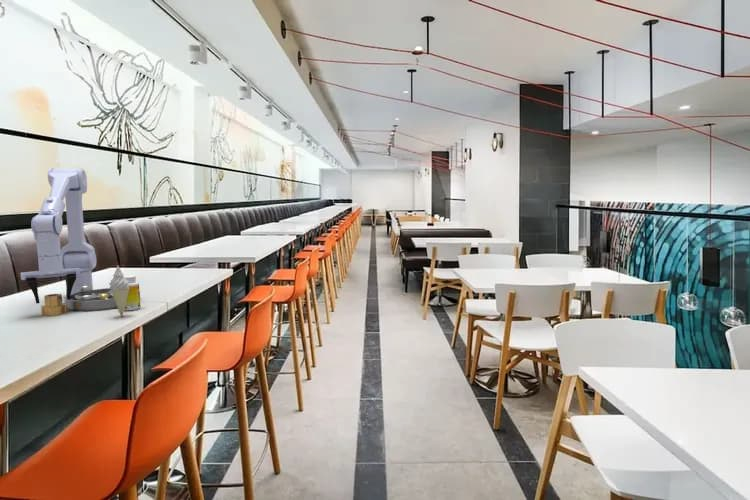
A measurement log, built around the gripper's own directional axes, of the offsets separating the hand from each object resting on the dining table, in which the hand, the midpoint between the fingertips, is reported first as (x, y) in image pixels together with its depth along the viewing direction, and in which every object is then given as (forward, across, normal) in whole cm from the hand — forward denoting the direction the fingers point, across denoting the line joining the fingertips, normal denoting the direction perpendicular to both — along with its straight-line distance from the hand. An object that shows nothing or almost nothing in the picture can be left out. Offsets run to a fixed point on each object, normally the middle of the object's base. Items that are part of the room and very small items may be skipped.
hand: (53, 301), depth 147 cm
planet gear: (+4, 0, 0) cm, 4 cm away
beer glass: (+4, +19, -8) cm, 21 cm away
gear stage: (+4, +14, +6) cm, 16 cm away
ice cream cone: (+4, +15, -16) cm, 23 cm away
